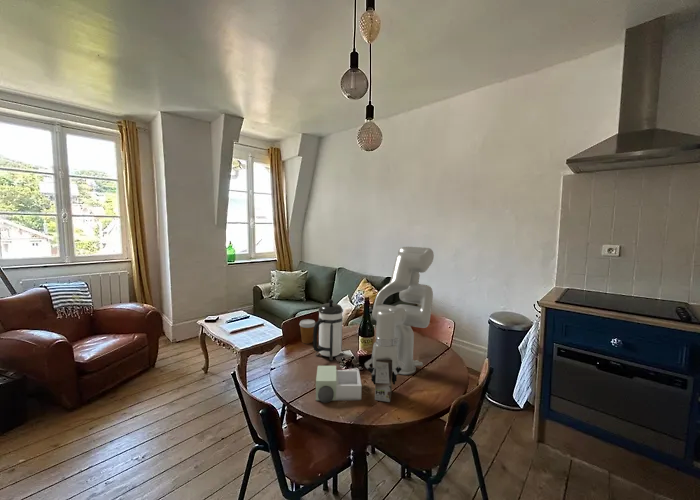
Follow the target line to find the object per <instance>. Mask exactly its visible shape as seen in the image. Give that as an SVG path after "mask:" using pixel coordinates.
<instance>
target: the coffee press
mask: <svg viewBox="0 0 700 500" xmlns="http://www.w3.org/2000/svg"><path fill="white" fill-rule="evenodd" d="M343 312H344V309H343V307H342V306H341V305H340V304H338V303H334V301H333V299H329V300H328V303H323V304H321V305H320V306H319V308H318V320H317V321H315V323H316V324H315V326H314V330H313V342H312V345H313V346H312V348H313V350H314V352H315V356H316V357H319V356H320V355H321V356H323V357H328V358H329V362H333V358H334V357H336V356H339V355H341V354H343V353H344V351H343V349H342V348H343ZM344 354H345V353H344Z"/></svg>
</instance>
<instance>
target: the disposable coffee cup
mask: <svg viewBox="0 0 700 500" xmlns="http://www.w3.org/2000/svg"><path fill="white" fill-rule="evenodd" d="M315 324H316V321H315V320H314V319H309V318H308V319H302V320H300V321H299V324H298V325H299V326H300V335H301V342H302V344H313V330H314V326H315Z"/></svg>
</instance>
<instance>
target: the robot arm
mask: <svg viewBox="0 0 700 500" xmlns="http://www.w3.org/2000/svg"><path fill="white" fill-rule="evenodd" d="M434 254H435V253H434V251H433V249H432V248H430V247H422V246H419V247H418V246H402V247H400V248H399V249H398V252H397V256H396V257H395V261H394V264H393V268H392V269H393V270H392V273H391V277H390V281H389V283H387V284H386V285H384V286H383V287H382V288H380V290H379V292H378V293H377V294H376V297H375V299H374V303H373V307H372V311H371V312H372V314H371V315H372V318H373V320H375V321H376V326H375V327H376V328H375V329H376V332H375V342H373V345H372V351H371V353H372V354H371V358H370V359H368V360H366V361H365V362H364V367H365V368H366V369H367V371H368V372H369V373H370V374H371V382H372V384H373V385H374V386H375V379H376V360H392V385H396V382H397V378H398V377H397V376H398V375H405V376H407V375H412V374H414V373H415V372H416V370H417V368H416V367H423V365H424V363H423V362H422V361H419V359H418V360H414V342H415V341H414V340H415V333H414V331H413V329H412V327H413V328H421V329H426V328H427V327H428V326H429V325H430V321H431V313H432V306H433V298H434V293H433V292H434V291H433V288H432V287H431V286H430V285H428V284H420V276H421V275H420V273H421V274H422V273H426V272H427V271H428V269H429V268H430V266H431V265H432V263H433V262H434V256H435V255H434ZM396 293H399V294H398V296H399V300H400V301H402V302H403V303H410V304H400V303H399V304H397V305H390V304H384V302H385V301H386V299H387V298H388V297H390V296H391V295H393V294H396ZM412 304H417V305H416V306H415V305H412ZM418 305H420V306H418ZM370 365H372V367H371V366H370Z"/></svg>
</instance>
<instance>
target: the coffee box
mask: <svg viewBox="0 0 700 500" xmlns="http://www.w3.org/2000/svg"><path fill="white" fill-rule="evenodd" d="M392 372H393V371H392V360H376V373H375V374H376V379H375V385H374V387H375V388H374V400H375V401H379V402H387V403H390V402H391V397H392V387H393V382H392Z"/></svg>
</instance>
